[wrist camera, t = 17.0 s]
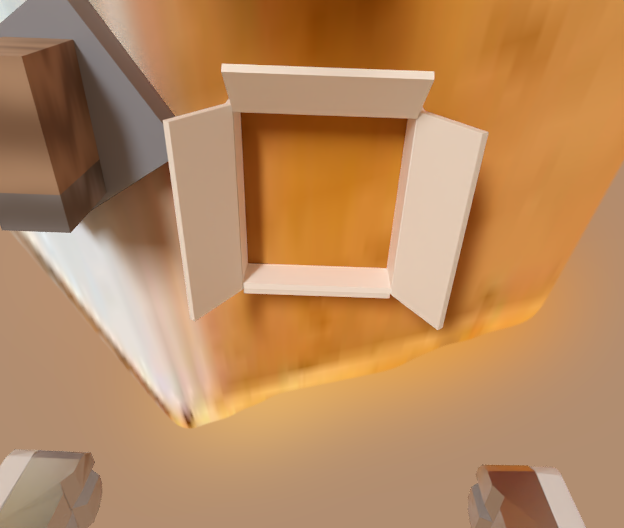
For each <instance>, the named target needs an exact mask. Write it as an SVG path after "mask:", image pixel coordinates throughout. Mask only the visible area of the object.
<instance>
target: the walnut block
mask: <svg viewBox="0 0 624 528" xmlns="http://www.w3.org/2000/svg"><path fill="white" fill-rule="evenodd" d="M106 193H107V191H106V187H105V182H104V178H103V173H102V169H101V164H100V159H99V155H98V150H97V146H96V141H95V137H94V132H93V128H92V123H91V118H90V114H89V109H88V105H87V100H86V96H85V91H84V87H83V82H82V77H81V73H80V68H79V64H78V59H77V55H76V50H75V46H74V41H73V39H50V38H24V37H0V225H1V228H2V230H11V231H38V232H65V233H71V232H72V231H73V229H74V228H75V227H76V226H77V225H78V224H79V223H80V222H81V221H82V220H83V218H84V217H85V216H86V215H87V214H88V213H89V212H90V211H91V210H92V209H93V208H94V206H95V205H96V204H97V203H98V202H99V201H100V200H101V199H102V198H103V197H104V195H105V194H106Z"/></svg>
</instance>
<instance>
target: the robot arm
mask: <svg viewBox="0 0 624 528" xmlns="http://www.w3.org/2000/svg"><path fill="white" fill-rule="evenodd" d="M94 463H95V461H94V459H93V457H92V454H91V453H88V452H64V451H42V450H17V449H15V450H14V451H12V452H11V453H10V454H9V455H8V456H7V457H6V458H5V459H4V461H3V463H2V464H1V466H0V528H87V527H89V526H90V525H91V524H92V523H93V522H94V520H95V517H96V515H97V512H98V510H99V507H100V501H101V497H102V481H101V478H100V475H98V474H97V473H96V472H94V471H93V470H92V468H93V465H94ZM476 477H477V480H478V483H477V484H476V485H474V486H472V487H471V489H470V493H469V496H468V514H469V520H470V524H471V528H586V526H585V524H584V522H583V520H582V518H581V516H580V514H579V512H578V509H577V507H576V505H575V503H574V501H573V499H572V497H571V495H570V493H569V490H568V488H567V486H566V484H565V482H564V480H563V478H562V476H561V474H560V472H559V471H558V470H557V469H556V468H554V467H539V466H524V465H522V466H521V465H520V466H519V465H481V466H480V467H479V468H478V470H477V473H476Z"/></svg>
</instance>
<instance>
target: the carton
mask: <svg viewBox="0 0 624 528" xmlns="http://www.w3.org/2000/svg"><path fill="white" fill-rule="evenodd" d="M221 73H222V76H223V79H224V83H225V86H226V90H227V93H228V97H229V99H228V100H227V102H226V103H225V104H221V105H218V106H214V107H210V108H206V109H203V110H199V111H195V112H192V113H188V114H184V115H180V116H177V117H173V118H169V119H165V120H163V126H164V134H165V141H166V148H167V155H168V162H169V170H170V177H171V184H172V191H173V199H174V206H175V213H176V220H177V227H178V235H179V242H180V249H181V256H182V264H183V271H184V278H185V285H186V292H187V300H188V307H189V314H190V319H191V320H193V321H196V320H198V319H199V318H201V317H202V316H204V315H205V314H207V313H208V312H210V311H211V310H213V309H214V308H216V307H217V306H219V305H220V304H222V303H223V302H225V301H226V300H228V299H229V298H231V297H232V296H234V295H235V294H237V293H238V292H240V291H241V290H243V288H244V293H253V294H280V295H308V296H336V297H364V298H390V294H391V295H392V296H393V297H395V298H396V299H397V300H399V301H400V302H401V303H402V304H404V305H405V306H406V307H408V308H409V309H410V310H412V311H413V312H414V313H416V314H417V315H418V316H420V317H421V318H422V319H424V320H425V321H426V322H428V323H429V324H430V325H432V326H433V327H434V328H435V329H437V330H439V329H441V328H443V324H444V319H445V315H446V311H447V307H448V302H449V298H450V294H451V290H452V285H453V281H454V277H455V273H456V268H457V264H458V260H459V256H460V251H461V247H462V243H463V239H464V234H465V230H466V226H467V222H468V218H469V213H470V209H471V205H472V201H473V196H474V192H475V188H476V184H477V179H478V175H479V171H480V167H481V162H482V158H483V154H484V150H485V145H486V141H487V137H488V133H489V132H487V131H484V130H481V129H478V128H475V127H472V126H469V125H466V124H463V123H460V122H457V121H454V120H451V119H448V118H445V117H442V116H439V115H436V114H433V113H430V112H427V111H425V110H424V108H423V107H422V106H423V104H424V102H425V100H426V97H427V95H428V93H429V91H430V88H431V86H432V84H433V81H434V72H433V71H406V70H379V69H352V68H325V67H298V66H271V65H244V64H222V69H221ZM241 112H244V113H271V114H298V115H325V116H353V117H380V118H407V119H408V120H407V127H406V134H405V141H404V149H403V156H402V163H401V170H400V177H399V184H398V191H397V199H396V206H395V213H394V220H393V227H392V234H391V241H390V248H389V256H388V263H387V268H365V267H337V266H310V265H282V264H254V263H248V252H247V231H246V211H245V191H244V170H243V150H242V130H241Z"/></svg>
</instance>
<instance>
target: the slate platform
mask: <svg viewBox="0 0 624 528" xmlns="http://www.w3.org/2000/svg"><path fill="white" fill-rule="evenodd" d="M0 37H24V38H50V39H73V41H74V46H75V50H76V55H77V59H78V64H79V68H80V73H81V77H82V82H83V87H84V91H85V96H86V100H87V105H88V109H89V114H90V118H91V123H92V128H93V132H94V137H95V141H96V146H97V150H98V155H99V159H100V164H101V169H102V173H103V178H104V182H105V187H106V191H107V193H106V194H105V195H104V197H103V198H102V199H101V200H100V201H99V202H98V203H97V204H96V205H95V206H94V208H96V207H97V206H99V205H100V204H102V203H104V202H105V201H107V200H108V199H110V198H111V197H113V196H114V195H116V194H118V193H119V192H121V191H122V190H124V189H125V188H127V187H129V186H130V185H132V184H133V183H135V182H136V181H138V180H139V179H141V178H143V177H144V176H146V175H147V174H149V173H150V172H152V171H154V170H155V169H157V168H158V167H160V166H161V165H163V164H164V163H166V162H168V155H167V148H166V141H165V134H164V126H163V120H165V119H169V118H173V117H175V116H174V114H173V113H172V112H171V110H170V109H169V108H168V106H167V105H166V104H165V102H164V101H163V100H162V98H161V97H160V96H159V94H158V93H157V92H156V90H155V89H154V88H153V86H152V85H151V84H150V82H149V81H148V80H147V79H146V77H145V76H144V75H143V73H142V72H141V71H140V69H139V68H138V67H137V65H136V64H135V63H134V61H133V60H132V59H131V57H130V56H129V55H128V53H127V52H126V51H125V49H124V48H123V47H122V45H121V44H120V43H119V41H118V40H117V39H116V37H115V36H114V35H113V33H112V32H111V31H110V29H109V28H108V27H107V25H106V24H105V23H104V21H103V20H102V19H101V17H100V16H99V15H98V13H97V12H96V11H95V9H94V8H93V7H92V5H91V4H90V3H89V1H88V0H27V1H26V2H24V3H23V4H22V5H21V6H20V7H19V8H17V9H16V10H15V11H14V12H13V13H12V14H11V15H9V16H8V17H7V18H6V19H5V20H4V21H2V22H1V23H0ZM94 208H93V209H94ZM93 209H92V210H93Z"/></svg>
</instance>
